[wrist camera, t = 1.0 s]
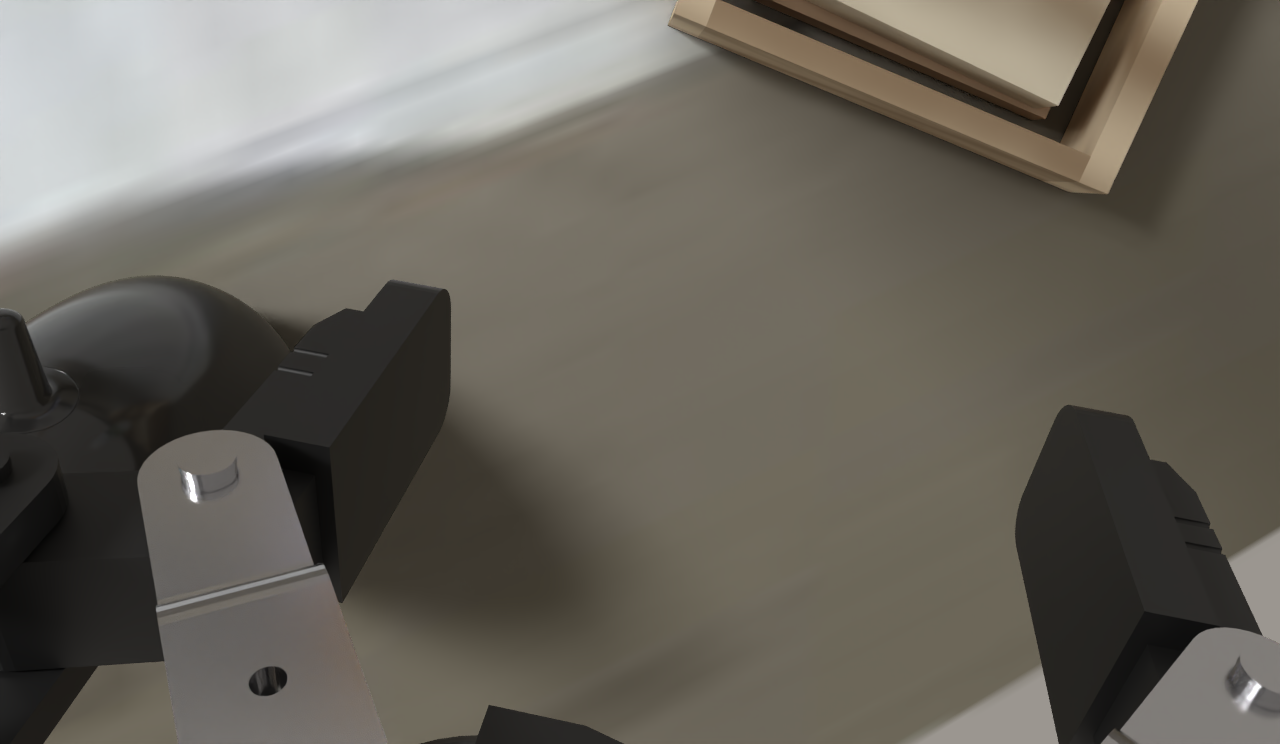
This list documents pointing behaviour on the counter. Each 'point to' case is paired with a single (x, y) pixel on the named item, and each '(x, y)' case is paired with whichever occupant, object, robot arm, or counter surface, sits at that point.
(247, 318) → the dark grey tapered dome
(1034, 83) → the offcut top
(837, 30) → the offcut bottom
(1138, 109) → the offcut rack
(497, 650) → the counter surface
